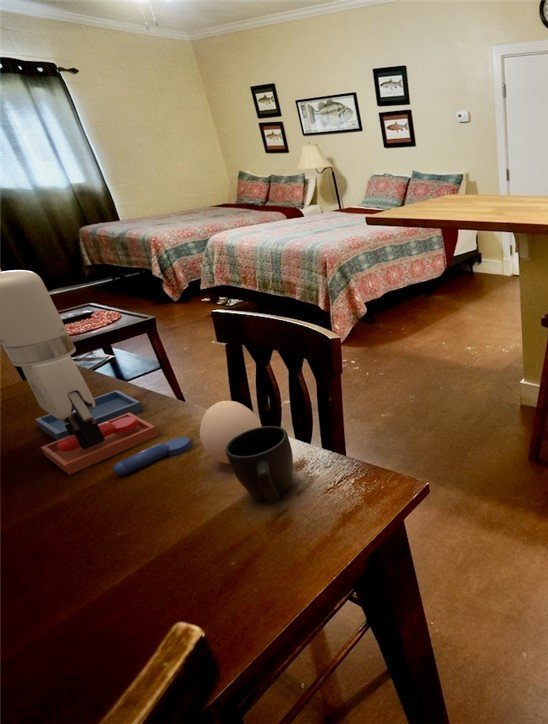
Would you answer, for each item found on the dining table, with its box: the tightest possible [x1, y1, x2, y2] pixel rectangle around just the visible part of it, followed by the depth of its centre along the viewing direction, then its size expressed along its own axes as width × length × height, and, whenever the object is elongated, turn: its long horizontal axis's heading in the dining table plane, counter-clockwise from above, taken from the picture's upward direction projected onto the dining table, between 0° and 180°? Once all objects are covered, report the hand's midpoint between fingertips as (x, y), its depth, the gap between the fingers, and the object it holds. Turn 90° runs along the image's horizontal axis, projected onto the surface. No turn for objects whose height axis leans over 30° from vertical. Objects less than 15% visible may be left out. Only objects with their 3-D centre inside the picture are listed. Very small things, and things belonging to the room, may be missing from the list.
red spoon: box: [58, 417, 138, 452], centre depth 85 cm, size 11×4×2 cm, turn 150°
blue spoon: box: [112, 436, 192, 477], centre depth 82 cm, size 11×4×2 cm, turn 150°
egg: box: [199, 400, 262, 465], centre depth 80 cm, size 9×9×11 cm
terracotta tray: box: [40, 413, 159, 476], centre depth 86 cm, size 13×10×2 cm
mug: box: [225, 425, 294, 503], centre depth 72 cm, size 8×12×10 cm
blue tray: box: [34, 389, 144, 441], centre depth 94 cm, size 13×10×2 cm
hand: (89, 441), depth 84 cm, fingers closed on red spoon, 2 cm apart
